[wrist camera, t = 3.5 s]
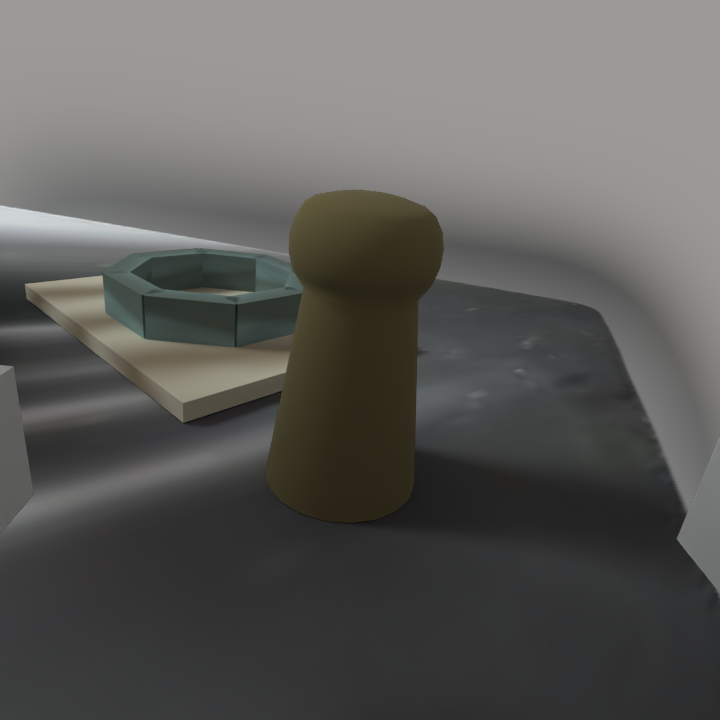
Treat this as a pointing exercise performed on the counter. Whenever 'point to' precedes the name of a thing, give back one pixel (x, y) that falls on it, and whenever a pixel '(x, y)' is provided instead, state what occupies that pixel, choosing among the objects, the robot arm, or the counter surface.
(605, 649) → the counter surface
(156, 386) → the ring stand
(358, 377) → the cork
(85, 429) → the counter surface
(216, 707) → the counter surface
